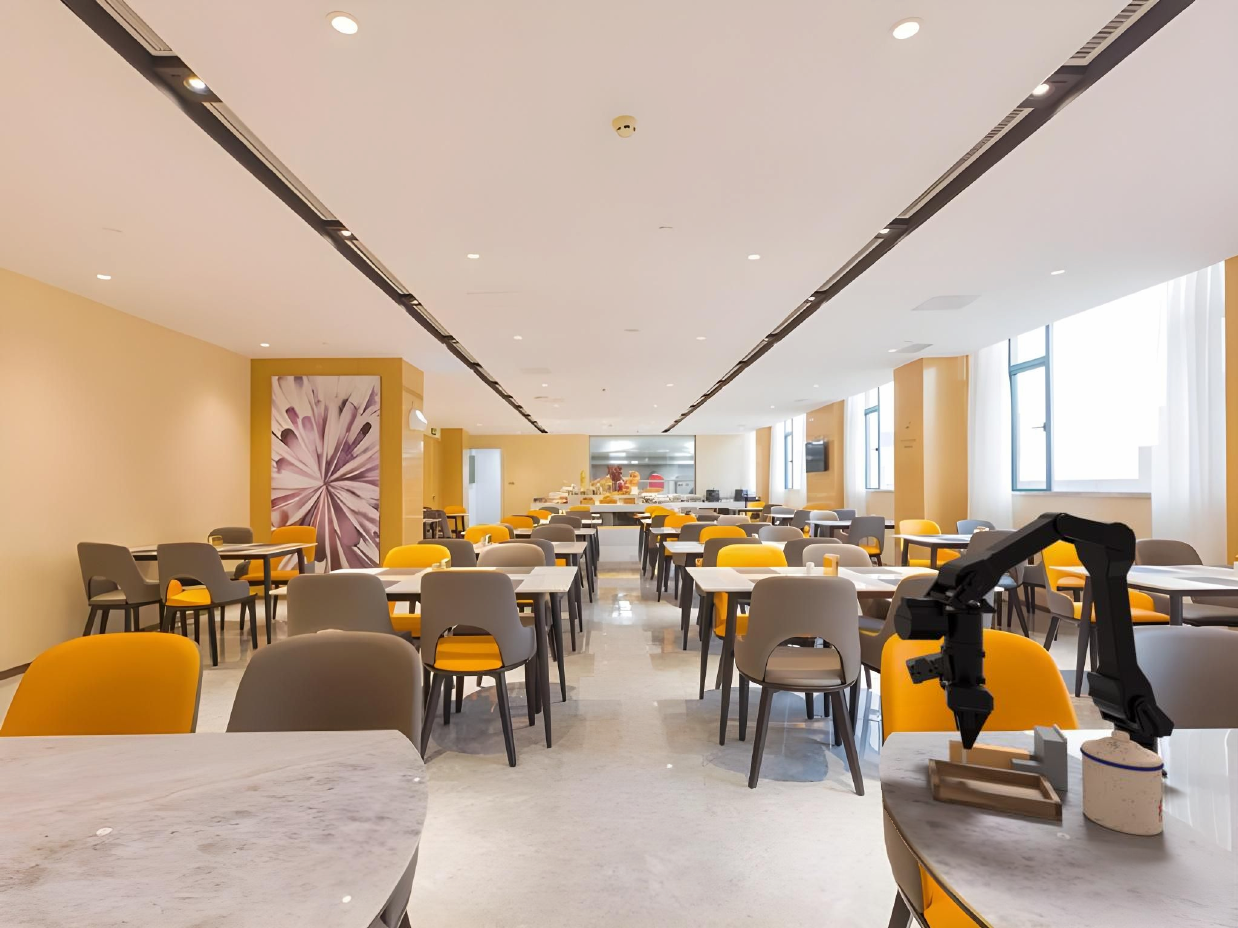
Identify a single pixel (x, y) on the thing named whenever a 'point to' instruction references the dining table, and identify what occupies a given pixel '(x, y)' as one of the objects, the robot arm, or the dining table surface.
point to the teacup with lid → (1122, 785)
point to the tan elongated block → (985, 755)
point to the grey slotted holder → (1047, 757)
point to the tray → (994, 789)
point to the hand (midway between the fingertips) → (963, 739)
